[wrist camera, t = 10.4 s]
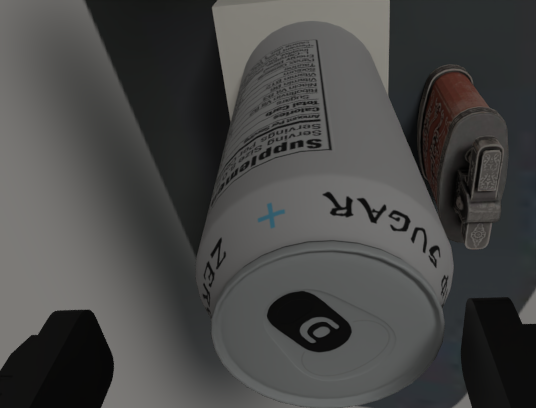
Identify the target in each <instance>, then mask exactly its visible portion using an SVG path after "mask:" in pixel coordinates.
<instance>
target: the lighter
mask: <svg viewBox="0 0 536 408" xmlns="http://www.w3.org/2000/svg"><path fill="white" fill-rule="evenodd" d="M417 148H418V155H419V161H420V167H421V170H422V173H423V175H424V178H425V179H427V180H428V181H429V184H430V187H431V189H432V192H433V195H434V198H435V201H436V203H437V207H438V214H439V219H440V222H441V224H442V227H443V229H444V231H445V234H446V236H447V238H448V239H449V240H452V241H455V242H461V243H465V246H466V247H467V248H469V249H482V248H485V247H486V246H487V245H488V242H489V238H490V232H491V226H492V223H495V222H498V221H499V219H500V214H501V202H500V201H501V198H502V194H503V190H504V186H505V183H506V174H507V164H508V138H507V126H506V123H505V121H504V120H503V118H502V117H501V116H500V115H499V114H498V113H497V112H496V111H495V110H493V109H491V108H489V106H488V105H487V104H486V102H485V101H484V100H483V98H482V97H481V95H480V94H479V93H478V91H477V90H476V89H475V87H474V86H473V81H472V78H471V76H470V75H469V73H468V72H467V71H466V70H465V69H464V68H463V67H460V66H458V65H445V66H441V67H439V68H437V69H435V70H434V71H433V72H432V73H431V74H430V75H429V77H428V79H427V81H426V85H425V89H424V92H423V96H422V100H421V103H420V110H419V117H418V124H417Z"/></svg>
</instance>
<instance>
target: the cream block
mask: <svg viewBox="0 0 536 408" xmlns="http://www.w3.org/2000/svg"><path fill="white" fill-rule="evenodd" d="M212 11H213V17H214V23H215V30H216V36H217V42H218V48H219V54H220V60H221V66H222V72H223V78H224V84H225V90H226V97H227V103H228V109H229V115H230V121H231V119H232V115H233V111H234V107H235V104H236V100H237V96H238V92H239V88H240V84H241V80H242V76H243V73H244V69H245V65H246V63H247V61H248V59H249V57H250V55H251V54H252V52H253V51H254V50H255V48H256V47H257V46H258V45H259V43H260V42H261V41H262V40H264V39H265V38H266V37H267V36H268V35H270V34H271V33H272V32H274V31H276V30H278V29H280V28H282V27H284V26H287V25H290V24H293V23H297V22H304V21H319V22H327V23H330V24H333V25H336V26H340V27H342V28H343V29H345V30H347V31H348V32H350V33H352V34H353V35H354V36H355V37H357V38H358V39H359V40H360V41H361V42H362V43H363V44H364V46H365V47H366V48H367V50H368V51H369V53H370V54H371V56H372V59H373V61H374V63H375V66H376V68H377V71H378V73H379V75H380V78H381V80H382V83H383V85H384V87H385V90H386V92H387V95H388V69H389V16H390V0H217V2H216V3H215V4H214V5H213V6H212Z"/></svg>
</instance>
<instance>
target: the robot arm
mask: <svg viewBox="0 0 536 408" xmlns="http://www.w3.org/2000/svg"><path fill="white" fill-rule="evenodd" d="M461 364H462V371H463V377H464V381H465V384H466V388H467V392H468V395H469V399H470V402H471V405H472V408H536V324H522V322H521V320H520V318H519V316H518V313H517V311H516V309H515V307H514V305H513V303H512V301H511V299H509V298H508V297H499V298H469V299H468V300H467V303H466V310H465V318H464V327H463V336H462V344H461ZM113 371H114V361H113V356H112V353H111V351H110V348H109V346H108V344H107V342H106V339H105V337H104V335H103V333H102V330H101V328H100V326H99V324H98V321H97V319H96V317H95V315H94V313H93V312H92V311H91V310H64V311H55V312H53V313H52V314H51V315H50V316H49V318H48V320H47V321H46V323H45V324H44V326H43V328H42V329H41V331H40V333H39V334H38V335H31V336H30V337H29V338H28V339H27V340H26V341H25V342H24V343H23V344H21V345H20V346H19V347H18V348H17V349H16V350H15V351H14V352H13V353H12V354H11V355H10V356H9V358H8V360H7V361H6V363H5V364H4V366H3V367H2V369H1V370H0V408H101V406H102V404H103V401H104V399H105V396H106V394H107V391H108V389H109V387H110V384H111V381H112V378H113Z"/></svg>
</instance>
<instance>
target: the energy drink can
mask: <svg viewBox="0 0 536 408" xmlns="http://www.w3.org/2000/svg"><path fill="white" fill-rule="evenodd" d="M453 268H454V266H453V258H452V250H451V246H450V243H449V241H448V239H447V236H446V234H445V231H444V229H443V227H442V224H441V222H440V219H439V217H438V215H437V212H436V210H435V207H434V205H433V203H432V200H431V198H430V195H429V193H428V191H427V188H426V186H425V183H424V181H423V179H422V176H421V174H420V171H419V169H418V167H417V164H416V162H415V159H414V157H413V155H412V152H411V150H410V147H409V145H408V143H407V140H406V138H405V135H404V133H403V131H402V128H401V126H400V123H399V121H398V119H397V116H396V114H395V111H394V109H393V107H392V104H391V102H390V99H389V97H388V95H387V92H386V90H385V87H384V85H383V83H382V80H381V78H380V75H379V73H378V71H377V68H376V66H375V63H374V61H373V59H372V56H371V54H370V53H369V51H368V50H367V48H366V47H365V46H364V44H363V43H362V42H361V41H360V40H359V39H358V38H357V37H355V36H354V35H353V34H352V33H350V32H348V31H347V30H345V29H343V28H342V27H340V26H336V25H333V24H330V23H327V22H319V21H304V22H297V23H293V24H290V25H287V26H284V27H282V28H280V29H278V30H276V31H274V32H272V33H271V34H270V35H268V36H267V37H266V38H265V39H264V40H262V41H261V42H260V43H259V45H258V46H257V47H256V48H255V50H254V51H253V52H252V54H251V55H250V57H249V59H248V61H247V63H246V65H245V69H244V73H243V76H242V80H241V84H240V88H239V92H238V96H237V100H236V104H235V107H234V111H233V115H232V119H231V123H230V127H229V131H228V135H227V139H226V143H225V147H224V151H223V155H222V159H221V163H220V167H219V171H218V175H217V179H216V182H215V186H214V190H213V194H212V198H211V202H210V206H209V210H208V214H207V218H206V222H205V226H204V230H203V234H202V238H201V242H200V246H199V250H198V254H197V257H196V283H197V287H198V291H199V295H200V298H201V301H202V303H203V304H204V307H205V309H206V310H207V312H208V314H209V316H210V318H211V336H212V341H213V345H214V349H215V351H216V353H217V355H218V357H219V358H220V360H221V362H222V364H223V365H224V366H225V367H226V369H227V370H228V371H229V372H230V373H231V374H232V375H233V377H235V378H236V379H237V380H239V381H240V382H241V383H243V384H244V385H245V386H246V387H248V388H250V389H252V390H253V391H255V392H257V393H259V394H261V395H263V396H265V397H268V398H271V399H273V400H276V401H279V402H282V403H287V404H291V405H295V406H300V407H310V408H343V407H350V406H357V405H362V404H366V403H369V402H373V401H377V400H380V399H382V398H384V397H387V396H389V395H392V394H394V393H396V392H398V391H400V390H401V389H403V388H405V387H406V386H408V385H409V384H411V383H413V382H414V381H415V380H416V379H417V378H418V377H419V376H421V375H422V374H423V373H424V372H425V371H426V370H427V369H428V367H429V366H430V365H431V363H432V362H433V361H434V359H435V358H436V356H437V354H438V351H439V349H440V347H441V345H442V342H443V336H444V329H445V323H444V317H443V310H442V308H443V306H444V303H445V301H446V298H447V296H448V294H449V291H450V288H451V283H452V275H453Z"/></svg>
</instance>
